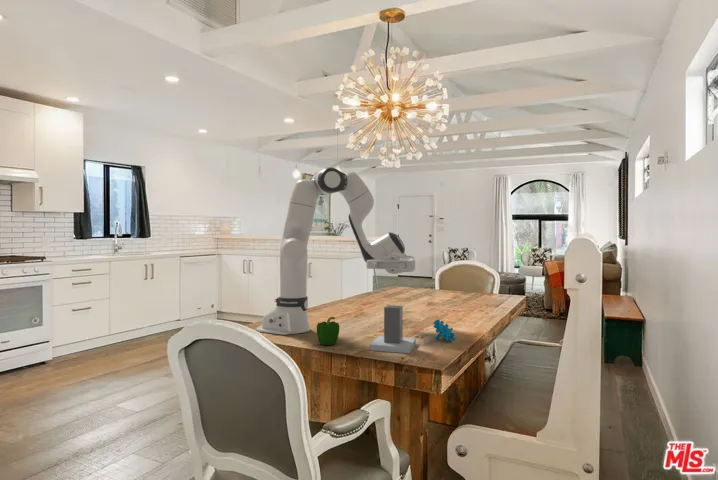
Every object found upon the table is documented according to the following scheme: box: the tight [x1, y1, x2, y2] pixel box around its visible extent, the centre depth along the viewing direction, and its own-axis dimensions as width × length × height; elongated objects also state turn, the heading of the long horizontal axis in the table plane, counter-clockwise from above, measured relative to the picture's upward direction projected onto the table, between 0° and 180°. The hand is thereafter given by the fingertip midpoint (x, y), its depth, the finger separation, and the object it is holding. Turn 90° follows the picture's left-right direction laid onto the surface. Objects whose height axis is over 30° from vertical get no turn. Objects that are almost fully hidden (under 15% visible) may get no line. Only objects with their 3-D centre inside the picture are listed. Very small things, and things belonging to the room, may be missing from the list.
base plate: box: [369, 335, 417, 354], centre depth 162 cm, size 14×14×6 cm
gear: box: [433, 318, 456, 343], centre depth 174 cm, size 11×6×10 cm
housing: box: [383, 304, 404, 344], centre depth 162 cm, size 6×6×12 cm
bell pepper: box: [316, 316, 340, 346], centre depth 166 cm, size 8×8×10 cm
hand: (387, 265), depth 179 cm, fingers open, 8 cm apart
